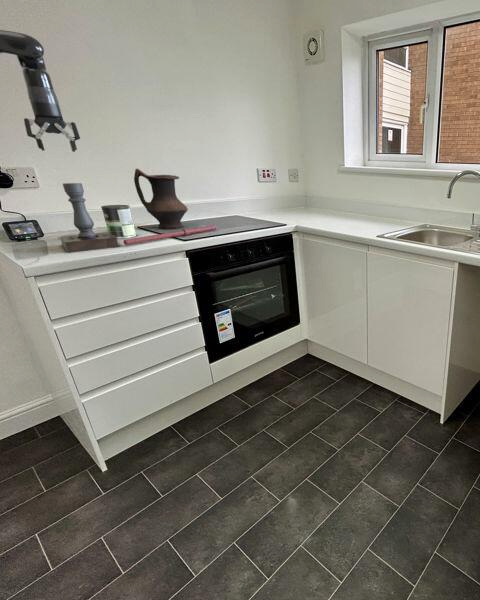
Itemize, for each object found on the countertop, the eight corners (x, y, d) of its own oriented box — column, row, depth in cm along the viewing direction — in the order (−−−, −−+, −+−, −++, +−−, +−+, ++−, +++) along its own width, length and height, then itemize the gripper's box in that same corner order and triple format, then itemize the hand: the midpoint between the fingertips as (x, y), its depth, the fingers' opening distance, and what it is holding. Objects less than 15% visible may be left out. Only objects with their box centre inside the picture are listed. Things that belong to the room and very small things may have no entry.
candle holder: (99, 243, 150) (82, 183, 141) (100, 246, 146) (82, 184, 137) (80, 245, 147) (61, 183, 138) (80, 248, 142) (61, 184, 133)
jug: (187, 223, 203) (177, 168, 192) (193, 228, 190) (183, 169, 179) (143, 226, 191) (130, 167, 180) (147, 231, 177) (132, 169, 166)
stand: (68, 252, 136) (65, 242, 135) (62, 245, 146) (59, 236, 144) (118, 246, 147) (116, 237, 146) (110, 240, 157) (108, 231, 156)
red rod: (213, 230, 187) (212, 224, 186) (217, 230, 186) (216, 224, 185) (123, 245, 148) (121, 238, 147) (128, 246, 147) (126, 239, 146)
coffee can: (110, 239, 159) (101, 207, 154) (108, 235, 166) (100, 205, 161) (138, 237, 165) (130, 206, 160) (135, 233, 172) (127, 204, 167)
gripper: (69, 106, 133) (81, 152, 139) (15, 100, 124) (31, 150, 129) (72, 104, 129) (85, 152, 135) (16, 98, 119) (33, 150, 125)
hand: (58, 151), depth 132 cm, fingers open, 8 cm apart
